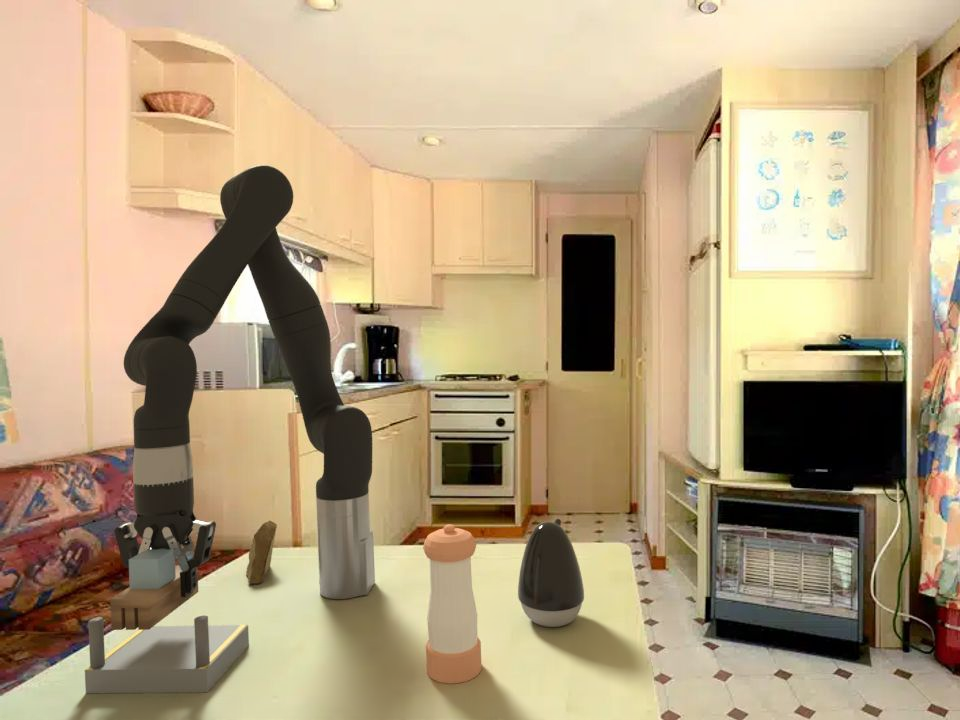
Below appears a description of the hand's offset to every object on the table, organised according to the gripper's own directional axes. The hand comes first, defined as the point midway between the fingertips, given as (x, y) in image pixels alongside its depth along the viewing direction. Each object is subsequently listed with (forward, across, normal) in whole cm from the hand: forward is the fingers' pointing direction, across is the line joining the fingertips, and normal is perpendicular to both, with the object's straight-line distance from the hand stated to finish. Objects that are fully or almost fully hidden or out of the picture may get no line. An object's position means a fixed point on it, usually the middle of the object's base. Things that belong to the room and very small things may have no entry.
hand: (168, 594), depth 84 cm
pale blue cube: (-3, 0, +3) cm, 5 cm away
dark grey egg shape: (+9, -55, -10) cm, 57 cm away
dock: (+9, -2, +3) cm, 10 cm away
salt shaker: (+9, -41, +4) cm, 42 cm away
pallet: (+1, 0, +2) cm, 3 cm away
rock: (+9, +1, -31) cm, 32 cm away
